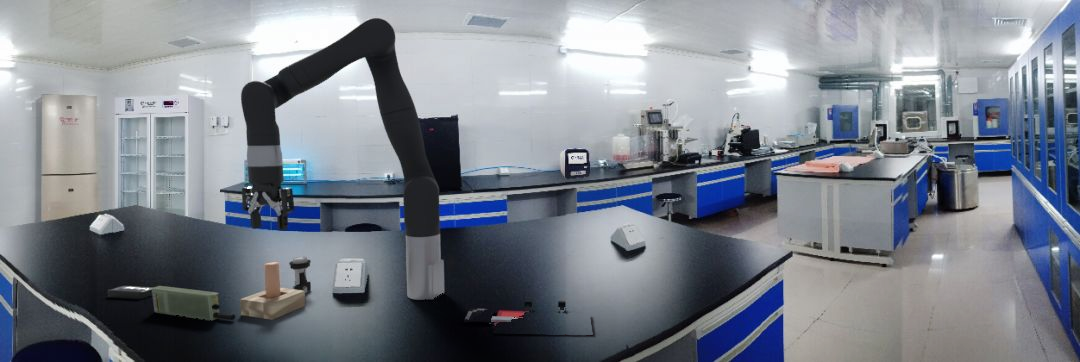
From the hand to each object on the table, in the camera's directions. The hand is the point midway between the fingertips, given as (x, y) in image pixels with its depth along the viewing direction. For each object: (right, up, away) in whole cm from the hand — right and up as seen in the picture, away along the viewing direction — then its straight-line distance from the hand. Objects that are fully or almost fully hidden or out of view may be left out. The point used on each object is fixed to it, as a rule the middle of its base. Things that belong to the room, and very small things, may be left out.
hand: (269, 228), depth 115 cm
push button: (0, -20, +15) cm, 25 cm away
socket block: (0, -21, +2) cm, 21 cm away
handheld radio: (-17, -22, -2) cm, 28 cm away
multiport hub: (-46, -21, +13) cm, 52 cm away
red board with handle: (+65, -22, -6) cm, 69 cm away
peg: (0, -21, +2) cm, 21 cm away
